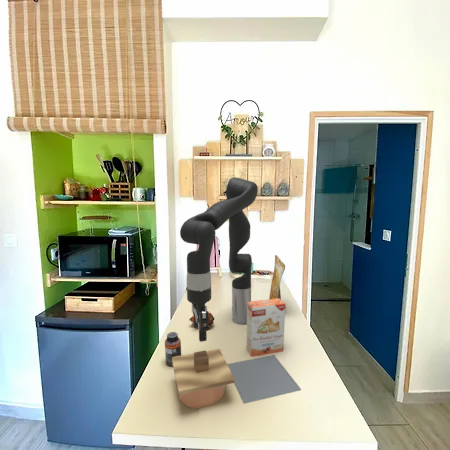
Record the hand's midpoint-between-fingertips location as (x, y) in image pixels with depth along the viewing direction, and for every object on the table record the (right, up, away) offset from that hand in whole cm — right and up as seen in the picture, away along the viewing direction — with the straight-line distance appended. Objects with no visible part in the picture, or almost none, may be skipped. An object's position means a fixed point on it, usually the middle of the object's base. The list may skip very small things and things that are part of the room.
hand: (200, 333), depth 92 cm
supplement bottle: (-12, -18, +18) cm, 28 cm away
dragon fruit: (-3, -14, +45) cm, 47 cm away
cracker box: (+24, -17, +25) cm, 38 cm away
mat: (+20, -19, +9) cm, 29 cm away
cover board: (0, -13, +2) cm, 13 cm away
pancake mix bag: (+34, -11, +61) cm, 71 cm away
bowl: (0, -20, +3) cm, 20 cm away
